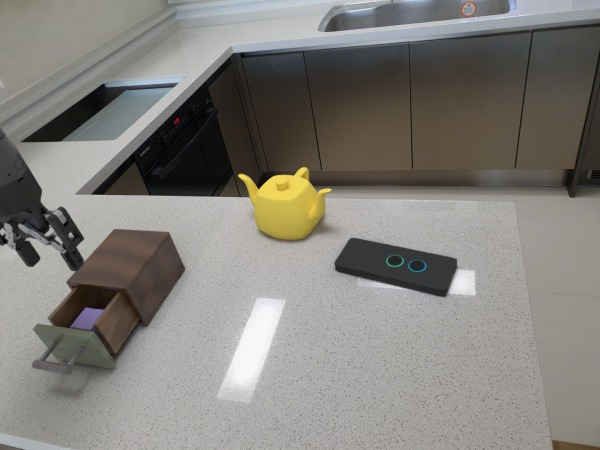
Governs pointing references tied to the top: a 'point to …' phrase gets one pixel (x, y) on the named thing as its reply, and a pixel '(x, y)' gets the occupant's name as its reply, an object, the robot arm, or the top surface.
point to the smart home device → (397, 266)
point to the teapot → (287, 205)
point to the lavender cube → (87, 321)
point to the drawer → (83, 343)
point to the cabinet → (133, 269)
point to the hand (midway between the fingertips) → (56, 265)
